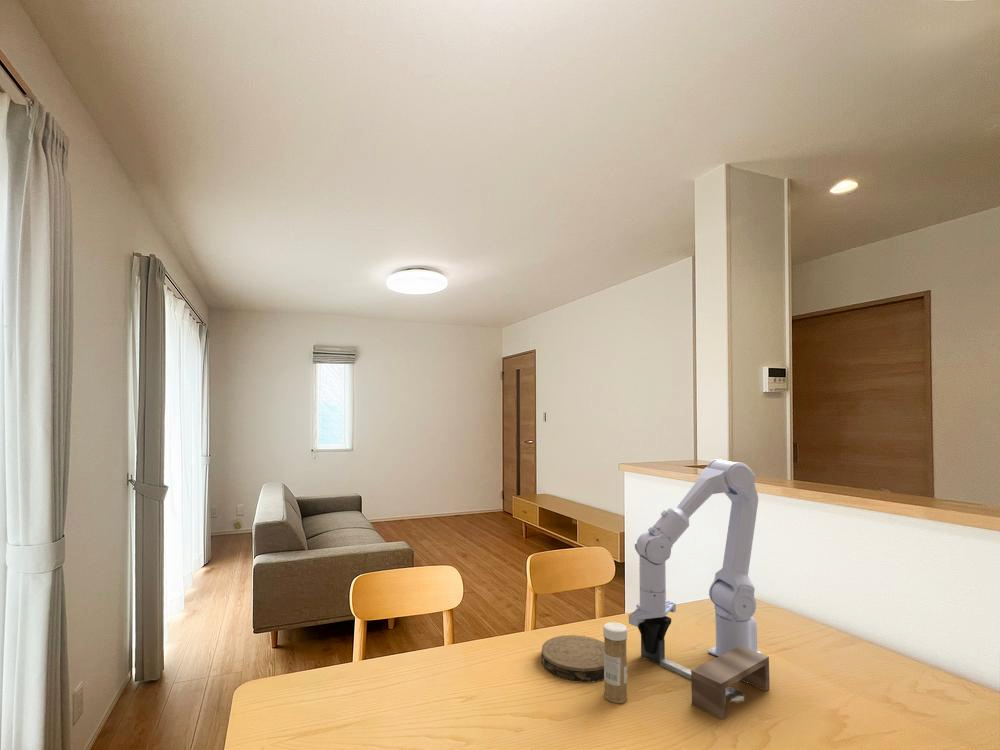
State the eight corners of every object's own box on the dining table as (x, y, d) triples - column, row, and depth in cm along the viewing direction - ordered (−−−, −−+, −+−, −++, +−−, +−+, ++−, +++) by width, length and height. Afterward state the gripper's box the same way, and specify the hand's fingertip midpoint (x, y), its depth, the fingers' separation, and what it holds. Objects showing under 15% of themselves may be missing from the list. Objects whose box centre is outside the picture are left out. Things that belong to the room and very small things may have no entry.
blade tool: (636, 658, 116) (636, 635, 116) (650, 652, 119) (650, 629, 119) (708, 692, 102) (708, 666, 102) (722, 684, 105) (721, 659, 105)
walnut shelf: (740, 676, 108) (739, 645, 109) (769, 688, 103) (768, 656, 104) (691, 704, 97) (691, 670, 98) (721, 719, 93) (720, 683, 93)
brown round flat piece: (592, 644, 123) (592, 631, 123) (629, 677, 108) (629, 662, 108) (530, 653, 118) (530, 639, 118) (560, 689, 103) (560, 673, 103)
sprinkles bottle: (632, 699, 99) (632, 627, 100) (615, 707, 96) (615, 632, 97) (615, 689, 102) (614, 619, 103) (598, 695, 100) (598, 624, 101)
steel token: (727, 689, 103) (726, 684, 104) (748, 699, 100) (748, 694, 100) (715, 696, 101) (715, 691, 101) (736, 707, 97) (736, 701, 97)
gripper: (657, 578, 124) (657, 636, 123) (617, 589, 115) (617, 652, 114) (683, 586, 118) (684, 647, 117) (643, 599, 109) (644, 665, 108)
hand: (653, 650), depth 115 cm, fingers closed on blade tool, 2 cm apart
